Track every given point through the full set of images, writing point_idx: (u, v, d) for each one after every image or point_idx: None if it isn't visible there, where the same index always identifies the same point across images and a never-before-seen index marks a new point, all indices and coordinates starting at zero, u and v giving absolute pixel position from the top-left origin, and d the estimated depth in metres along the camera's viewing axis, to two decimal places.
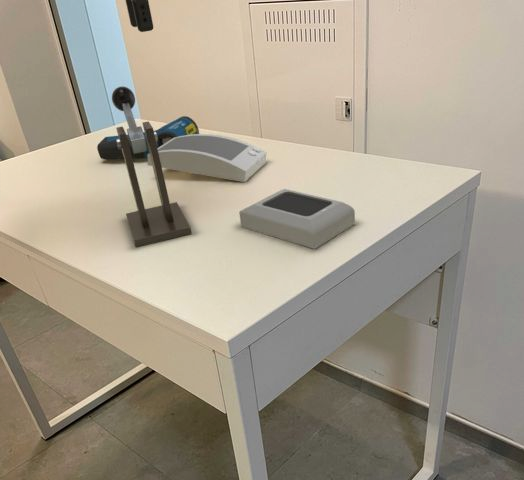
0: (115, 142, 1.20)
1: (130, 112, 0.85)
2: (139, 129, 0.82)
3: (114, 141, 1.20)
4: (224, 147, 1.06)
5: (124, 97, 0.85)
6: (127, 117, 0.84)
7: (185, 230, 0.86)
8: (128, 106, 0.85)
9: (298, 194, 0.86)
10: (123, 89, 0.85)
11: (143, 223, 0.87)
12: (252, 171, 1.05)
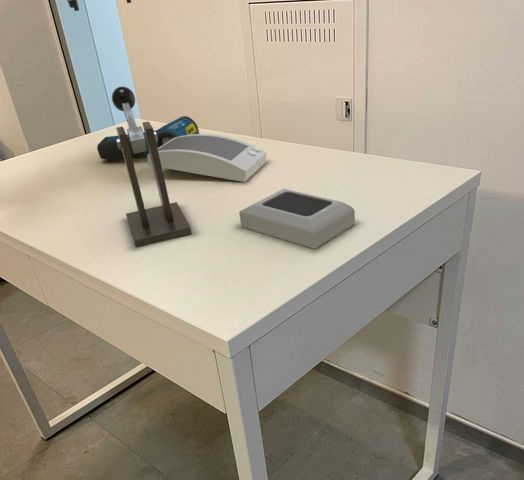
0: (115, 142, 1.20)
1: (130, 112, 0.85)
2: (139, 129, 0.82)
3: (114, 141, 1.20)
4: (224, 147, 1.06)
5: (124, 97, 0.85)
6: (127, 117, 0.84)
7: (185, 230, 0.86)
8: (128, 106, 0.85)
9: (298, 194, 0.86)
10: (123, 89, 0.85)
11: (143, 223, 0.87)
12: (252, 171, 1.05)
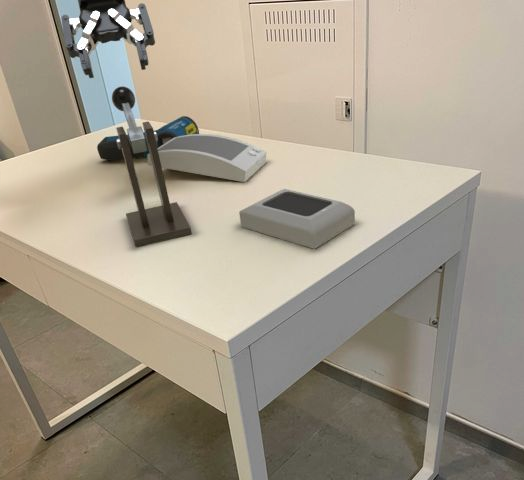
0: (115, 142, 1.20)
1: (130, 112, 0.85)
2: (139, 129, 0.82)
3: (114, 141, 1.20)
4: (224, 147, 1.06)
5: (124, 97, 0.85)
6: (127, 117, 0.84)
7: (185, 230, 0.86)
8: (128, 106, 0.85)
9: (298, 194, 0.86)
10: (123, 89, 0.85)
11: (143, 223, 0.87)
12: (252, 171, 1.05)
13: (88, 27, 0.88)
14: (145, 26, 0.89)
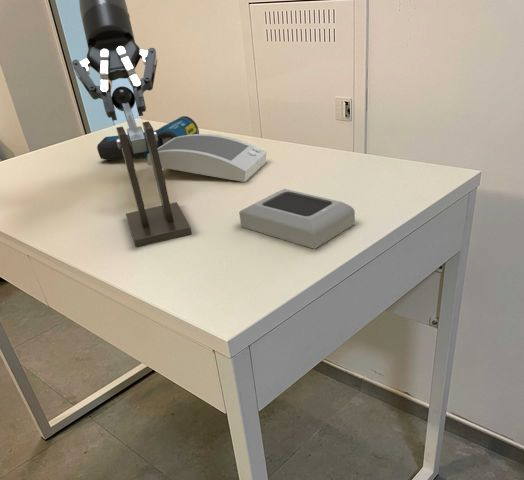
0: (115, 142, 1.20)
1: (130, 112, 0.85)
2: (139, 129, 0.82)
3: (114, 141, 1.20)
4: (224, 147, 1.06)
5: (124, 97, 0.85)
6: (127, 117, 0.84)
7: (185, 230, 0.86)
8: (128, 106, 0.85)
9: (298, 194, 0.86)
10: (123, 89, 0.85)
11: (143, 223, 0.87)
12: (252, 171, 1.05)
13: (103, 67, 0.86)
14: (145, 70, 0.87)
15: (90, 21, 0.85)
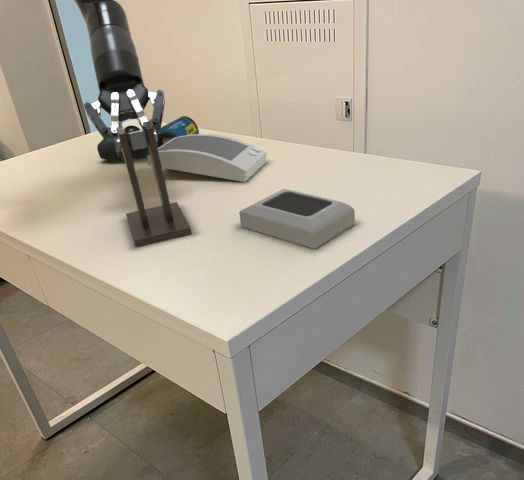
0: None
1: None
2: (139, 130, 0.82)
3: None
4: (224, 147, 1.06)
5: (131, 129, 0.89)
6: None
7: (185, 230, 0.86)
8: None
9: (298, 194, 0.86)
10: (131, 125, 0.90)
11: (143, 223, 0.87)
12: (252, 171, 1.05)
13: (113, 110, 0.90)
14: (154, 112, 0.91)
15: (101, 66, 0.90)
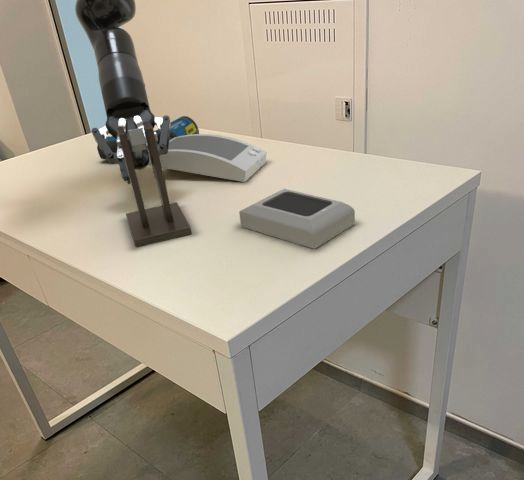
0: (115, 142, 1.20)
1: None
2: None
3: (114, 141, 1.20)
4: (224, 147, 1.06)
5: None
6: None
7: (185, 230, 0.86)
8: None
9: (298, 194, 0.86)
10: None
11: (143, 223, 0.87)
12: (252, 171, 1.05)
13: None
14: (161, 137, 0.93)
15: (109, 93, 0.92)
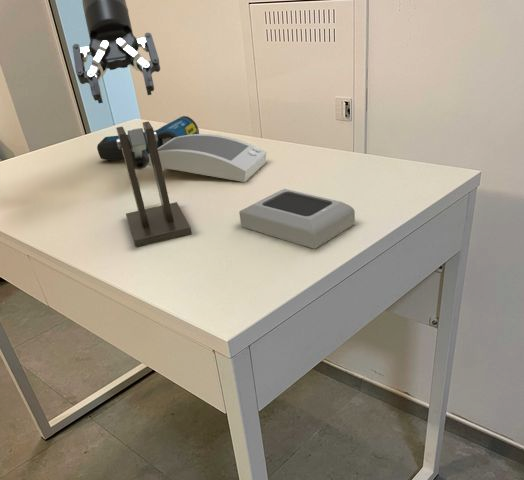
0: (115, 142, 1.20)
1: None
2: None
3: (114, 141, 1.20)
4: (224, 147, 1.06)
5: None
6: None
7: (185, 230, 0.86)
8: None
9: (298, 194, 0.86)
10: None
11: (143, 223, 0.87)
12: (252, 171, 1.05)
13: (98, 55, 0.93)
14: (151, 54, 0.95)
15: (92, 15, 0.93)
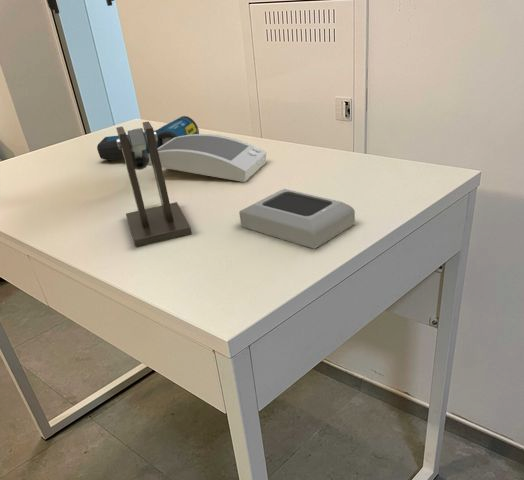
0: (115, 142, 1.20)
1: None
2: None
3: (114, 141, 1.20)
4: (224, 147, 1.06)
5: None
6: None
7: (185, 230, 0.86)
8: None
9: (298, 194, 0.86)
10: None
11: (143, 223, 0.87)
12: (252, 171, 1.05)
13: None
14: None
15: None
